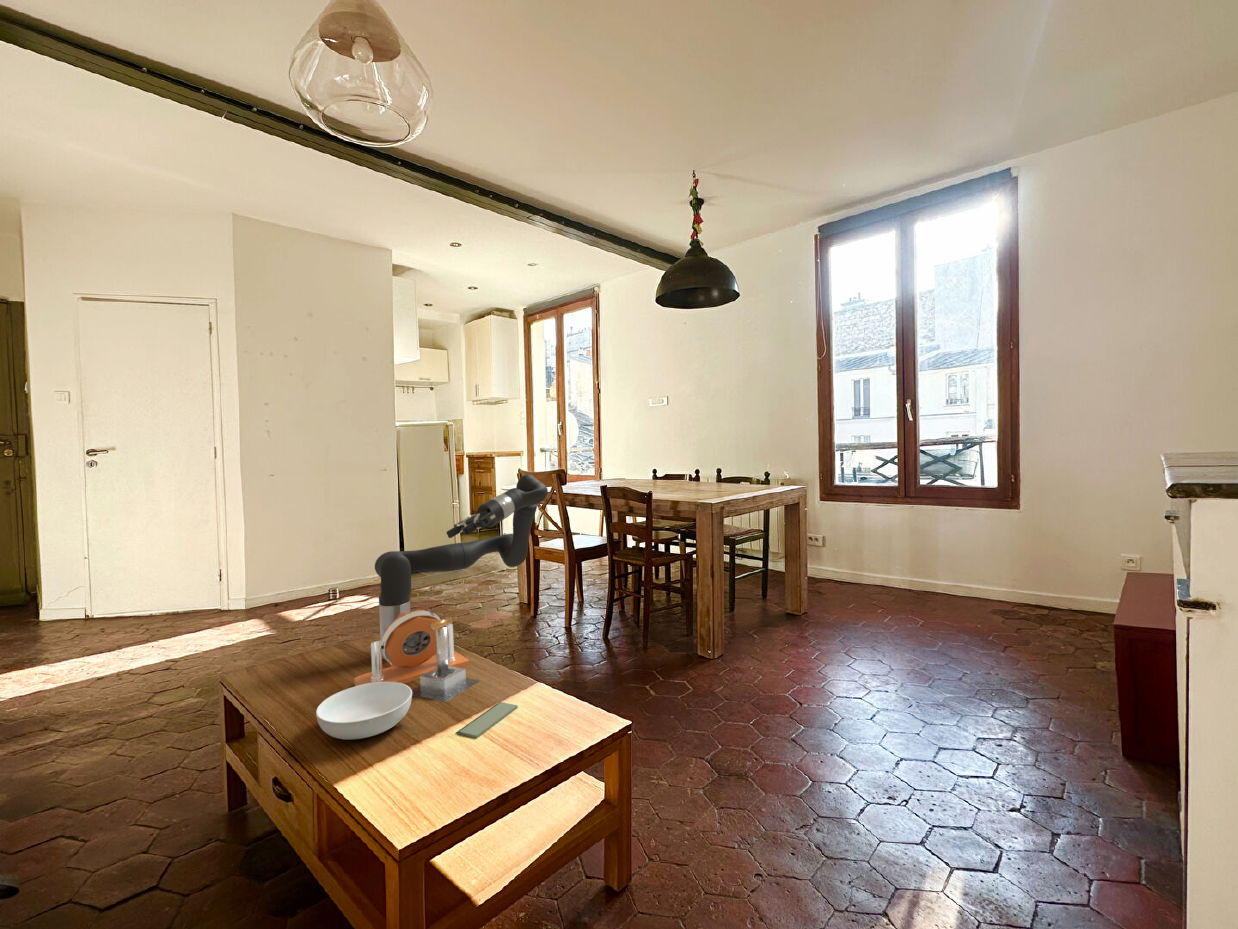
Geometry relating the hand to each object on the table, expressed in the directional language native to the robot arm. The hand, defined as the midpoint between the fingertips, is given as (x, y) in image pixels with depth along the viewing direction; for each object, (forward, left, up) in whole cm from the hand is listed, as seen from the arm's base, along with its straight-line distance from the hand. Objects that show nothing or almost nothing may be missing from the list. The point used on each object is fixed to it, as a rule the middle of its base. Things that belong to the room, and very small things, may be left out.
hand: (455, 533), depth 164 cm
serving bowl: (+34, 0, -42) cm, 54 cm away
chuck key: (+11, +3, -40) cm, 42 cm away
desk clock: (+6, -12, -42) cm, 44 cm away
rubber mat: (+20, +20, -41) cm, 50 cm away
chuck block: (+11, +3, -41) cm, 43 cm away
